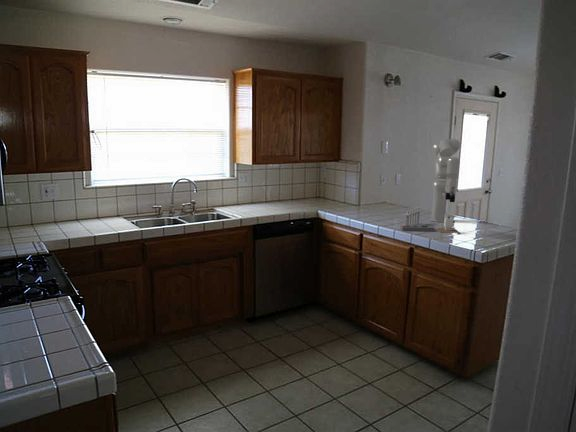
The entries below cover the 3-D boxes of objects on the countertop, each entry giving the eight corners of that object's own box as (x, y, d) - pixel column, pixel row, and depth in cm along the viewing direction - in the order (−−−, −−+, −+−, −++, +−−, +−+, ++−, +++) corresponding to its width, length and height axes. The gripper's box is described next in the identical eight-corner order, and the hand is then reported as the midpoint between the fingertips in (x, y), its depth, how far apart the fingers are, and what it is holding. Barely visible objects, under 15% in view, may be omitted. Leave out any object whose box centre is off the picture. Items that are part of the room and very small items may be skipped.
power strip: (400, 229, 314) (400, 224, 313) (431, 230, 313) (432, 225, 312) (402, 232, 307) (402, 226, 307) (434, 232, 306) (434, 227, 305)
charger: (443, 229, 311) (444, 215, 309) (450, 229, 310) (451, 215, 308) (445, 230, 307) (446, 216, 305) (451, 230, 306) (452, 216, 304)
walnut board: (435, 229, 316) (435, 227, 315) (454, 229, 315) (454, 228, 314) (440, 233, 303) (440, 232, 303) (459, 234, 302) (460, 232, 302)
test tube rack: (416, 223, 336) (417, 206, 333) (421, 224, 333) (422, 207, 331) (402, 229, 317) (403, 211, 314) (408, 230, 314) (409, 212, 311)
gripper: (442, 174, 310) (441, 198, 313) (450, 177, 293) (448, 202, 296) (453, 174, 309) (451, 198, 313) (461, 177, 292) (459, 203, 296)
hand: (450, 200), depth 304 cm, fingers open, 9 cm apart
